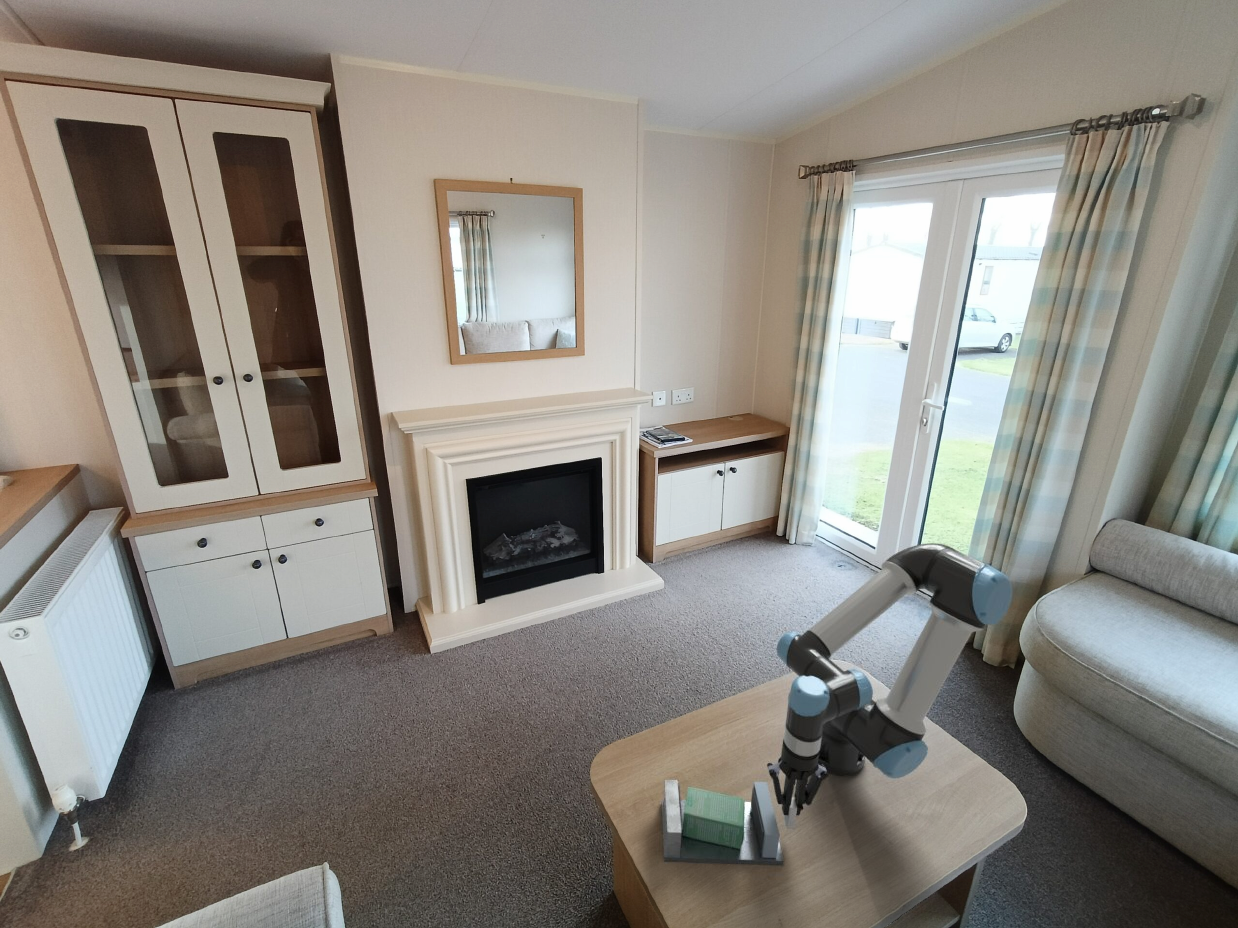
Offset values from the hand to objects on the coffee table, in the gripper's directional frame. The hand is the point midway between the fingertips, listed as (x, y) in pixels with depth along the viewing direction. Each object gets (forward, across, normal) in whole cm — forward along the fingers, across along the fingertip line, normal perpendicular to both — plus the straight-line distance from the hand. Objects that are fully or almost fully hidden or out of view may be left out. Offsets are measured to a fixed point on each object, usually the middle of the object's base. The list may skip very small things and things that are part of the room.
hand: (789, 822), depth 129 cm
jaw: (+2, +6, 0) cm, 6 cm away
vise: (+4, +16, 0) cm, 16 cm away
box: (+3, +17, 0) cm, 17 cm away
